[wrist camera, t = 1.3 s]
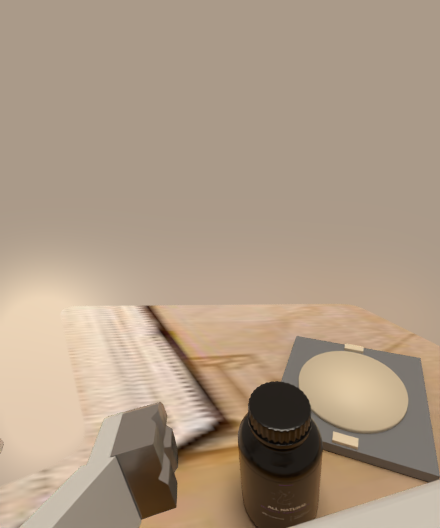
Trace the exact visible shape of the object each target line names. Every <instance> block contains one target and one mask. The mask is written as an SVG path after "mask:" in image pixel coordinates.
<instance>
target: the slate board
mask: <svg viewBox="0 0 440 528" xmlns="http://www.w3.org/2000/svg"><path fill="white" fill-rule="evenodd" d="M281 382H285V383H289V384H291V385H294V386H295V387H298V388H299V389H300V390H301V391H303V392H304V394H305V395H306V396H307V398H308V399H309V403H310V405H311V417H312V418H313V420H314V421H315V423H316V424H317V426H318V428H319V430H320V433H321V437H322V443H323V449H324V450H327V451H330V452H333V453H337V454H340V455H343V456H346V457H349V458H353V459H356V460H359V461H362V462H366V463H369V464H372V465H375V466H379V467H382V468H385V469H388V470H392V471H395V472H398V473H401V474H404V475H408V476H411V477H414V478H417V479H421V480H424V481H427V482H433V481H436V480H439V477H440V475H439V468H438V462H437V456H436V450H435V444H434V438H433V432H432V426H431V420H430V414H429V407H428V401H427V395H426V389H425V383H424V377H423V371H422V365H421V359H420V358H416V357H411V356H405V355H400V354H394V353H388V352H383V351H377V350H372V349H366V348H364V347H363V346H357V345H351V344H346V343H345V345H344V344H338V343H332V342H327V341H321V340H316V339H310V338H304V337H299V336H297V337H296V339H295V342H294V345H293V348H292V351H291V354H290V357H289V360H288V363H287V366H286V369H285V372H284V375H283V378H282V381H281Z"/></svg>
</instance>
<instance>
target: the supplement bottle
mask: <svg viewBox="0 0 440 528" xmlns="http://www.w3.org/2000/svg"><path fill="white" fill-rule="evenodd" d="M238 448H239V460H240V472H241V484H242V494H243V501H244V505H245V508H246V511H247V513H248V515H249V516H250V518H251V519H252V521H253V522H254V523H255V524H256V525H257V526H258V527H259V528H289V527H292V526H295V525H298V524H301V523H304V522H307V521H311V520H314V518H315V516H316V512H317V508H318V500H319V488H320V476H321V464H322V452H323V443H322V437H321V433H320V430H319V428H318V426H317V424H316V423H315V421H314V420H313V418H312V417H311V405H310V403H309V399H308V398H307V396H306V395H305V394H304V392H303V391H301V390H300V389H299V388H298V387H295V386H294V385H291V384H289V383H285V382H278V381H276V382H269V383H265V384H262V385H261V386H259V387H257V388H256V390H254V391H253V393H252V394H251V397H250V398H249V404H248V413H247V414H246V415H245V417H244V418H243V420H242V422H241V424H240V427H239V431H238Z"/></svg>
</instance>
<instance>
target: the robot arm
mask: <svg viewBox="0 0 440 528" xmlns="http://www.w3.org/2000/svg"><path fill="white" fill-rule="evenodd" d="M166 422H167V414H166V411H165V408H164V406H163V404H162V403H161V402H158V403H155V404H151V405H147V406H144V407H140V408H136V409H133V410H129V411H126V412H121V413H118V414H115V415H111V416H108V417H106V418H105V419H104V420H103V423H102V425H101V428H100V431H99V433H98V436H97V439H96V441H95V444H94V447H93V449H92V452H91V455H90V457H89V460H88V462H87V465H84V466H81V467H80V468H79V469H78V470H77V471H76V472H75V473H74V474H73V475H72V476H71V477H70V478H69V479H68V480H67V481H66V482H65V483H64V484H63V485H62V486H61V487H60V488H59V489H58V490H57V491H56V492H55V493H54V494H53V495H52V496H51V497H50V498H49V499H48V500H47V501H46V502H45V503H44V504H43V505H42V506H41V507H40V508H39V509H38V510H37V511H36V512H35V513H34V514H33V515H32V516H31V517H30V518H29V519H28V520H27V521H26V522H25V523H24V524H23V525H22V526H21V527H20V528H139V526H140V524H141V520H142V519H145V518H147V517H150V516H153V515H156V514H159V513H162V512H165V511H168V510H171V509H174V508H176V503H177V480H176V477H175V474H174V472H175V471H176V469H177V468H178V454H177V446H176V441H175V437H174V434H173V431H172V429H171V428H170V427H168V426H167V425H166ZM2 448H3V442H2V440H1V439H0V453H1V451H2ZM289 528H440V479H439V480H436V481H433V482H430V483H427V484H423V485H420V486H417V487H414V488H411V489H408V490H405V491H401V492H398V493H395V494H392V495H389V496H386V497H383V498H380V499H376V500H373V501H370V502H367V503H364V504H361V505H358V506H355V507H351V508H348V509H345V510H342V511H339V512H336V513H333V514H330V515H326V516H323V517H320V518H317V519H314V520H311V521H307V522H304V523H301V524H298V525H295V526H292V527H289Z"/></svg>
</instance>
